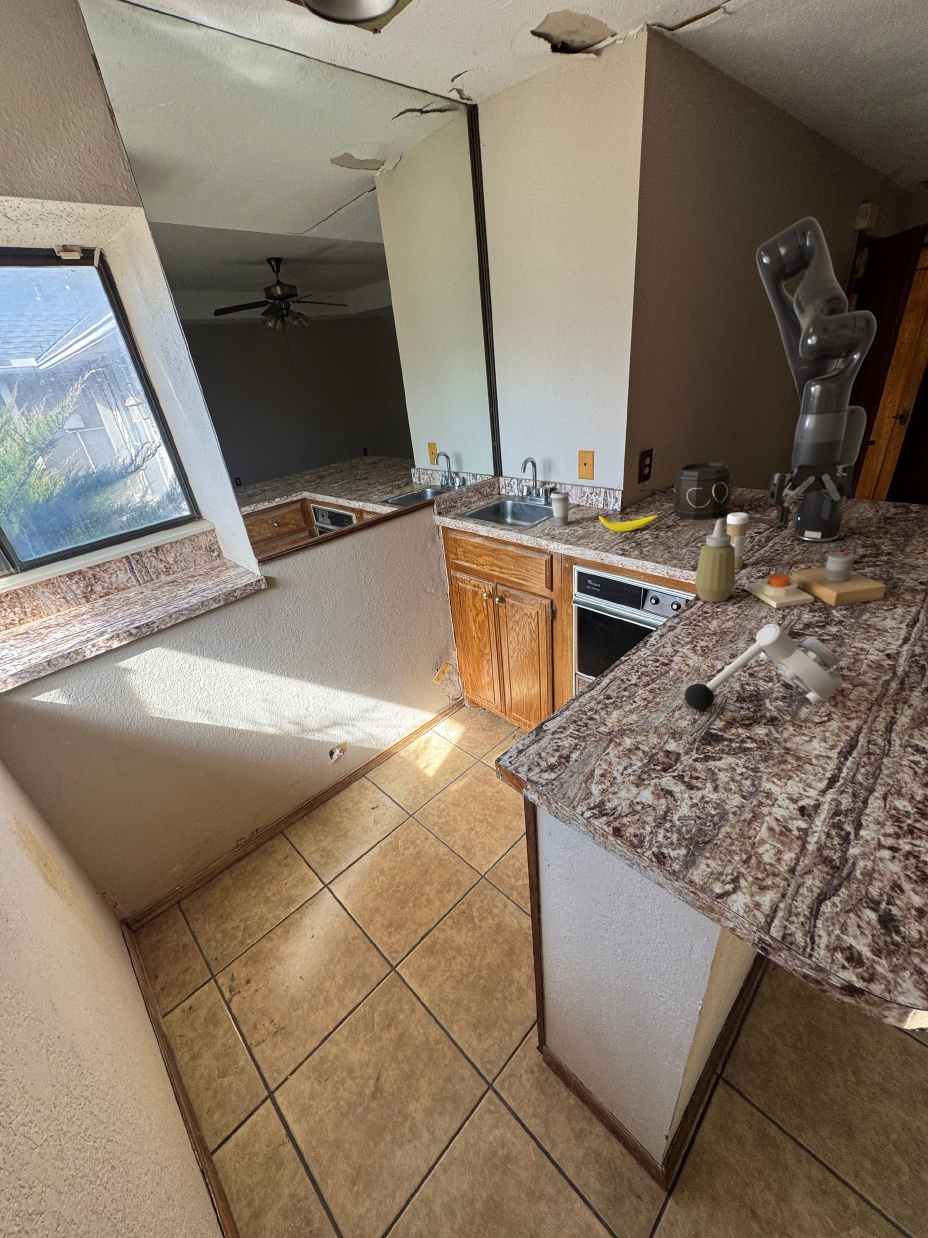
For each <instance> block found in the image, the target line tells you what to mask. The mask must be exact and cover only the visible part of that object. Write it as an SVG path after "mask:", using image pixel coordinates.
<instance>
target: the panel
mask: <svg viewBox="0 0 928 1238" xmlns="http://www.w3.org/2000/svg"><path fill="white" fill-rule="evenodd" d="M825 569H826V565H825V566H818V567H812V568H806V569H800V570H793V571H792V572H791V573H792V574H791V577H790V579H792V580H794V581H796V582H797V585H798V586H797V588H798V589H800V590H802V591H803V592H805V593H807V594H809V595H811V596H813V597H814V598H815V597H816V598H817V599H819V600H821V601H823V602H825V603H827V604H828V605H831V606H832V607H838V606H844V605H852V604H857V603H863V602H870V601H877V600H882V599H884V595H885V592H886V587H887V585H885V584H884V583H882V582H879V581H876V580H875V579H872V578H870V577H867V576H864V575H863V574H860V573H857V572H856V571H853V570H852V571H851V576H850V579H849V580H848V581H844V582H835V581H830V580H827V579H825V578H824V574H825Z"/></svg>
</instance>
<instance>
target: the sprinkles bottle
mask: <svg viewBox="0 0 928 1238" xmlns="http://www.w3.org/2000/svg"><path fill="white" fill-rule="evenodd" d="M730 513H731V514H728V515H726V525H727V526H726V534H728V535H730V536H731V543H730V544H731V545H732V546H733V547H734V548H735V569H741V568H742V567H743V565H744V564H743V558H744V554H745V546H746V538H747V528H748V523H749V519H748V518H749V516H750V515H749V514H748V513H746V512H740V511H739V512H730Z"/></svg>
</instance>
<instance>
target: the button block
mask: <svg viewBox="0 0 928 1238" xmlns="http://www.w3.org/2000/svg"><path fill="white" fill-rule="evenodd" d="M769 582H770V577H766V578H763V579H762V580H761V581H757V582H750V583H746V584H744V589H745V590H746V591H747V592H749V593H751V594H752V595H754V596H755V597H757V598H759V599H760V600H762V601H763V602H765V603H767V604H768V605H770V606H772V607H774V608H775V609H777V608H778V609H779V608H785V607H790V606H796V605H797V606H798V605H804V604H810V603H814V601H815V596H814V595H812V594H810V593H808V592H806V591H804V590H802V589H800V588H799V587H797V586H798V585H797V582H796V581H794V580H792V579H791V578H790V582H789V586H785V587H777V586H772V585H770V584H769Z"/></svg>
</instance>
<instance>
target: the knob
mask: <svg viewBox="0 0 928 1238" xmlns="http://www.w3.org/2000/svg"><path fill="white" fill-rule="evenodd" d="M855 556H856V555H854V554H853V553H851V552H850V551H848V550H847V551H835V552H830V553H828V555H827V559H826V564H825V566H826V569H825V574H824V578H825V579H827V580H830V581H835V582H844V581H848V580H849V579H850V576H851V571H853V566H854V562H855Z"/></svg>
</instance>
